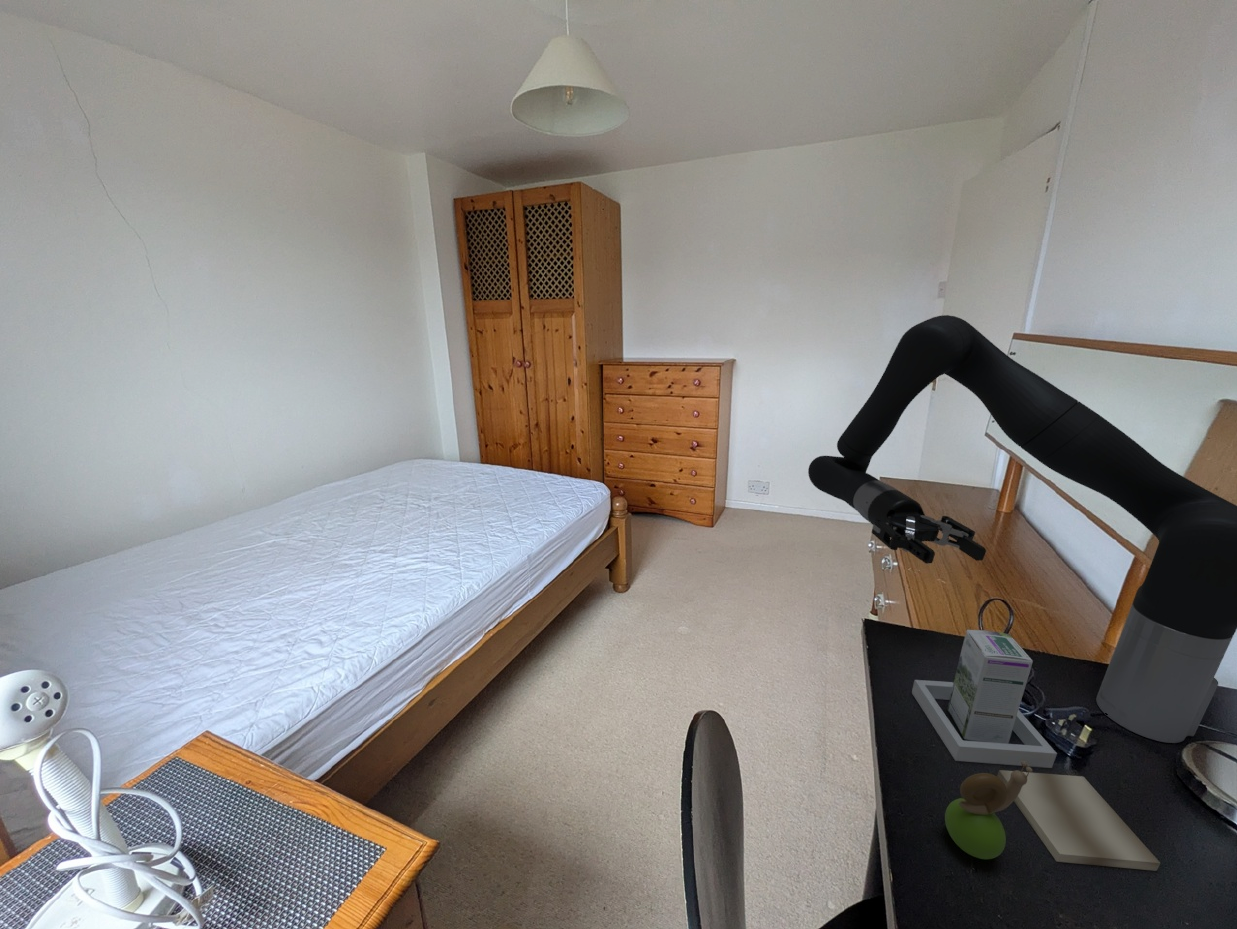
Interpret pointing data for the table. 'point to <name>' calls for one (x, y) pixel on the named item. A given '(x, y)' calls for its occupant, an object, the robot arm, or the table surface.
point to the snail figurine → (983, 812)
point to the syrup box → (988, 686)
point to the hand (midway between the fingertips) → (957, 556)
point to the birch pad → (1079, 823)
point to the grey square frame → (983, 752)
